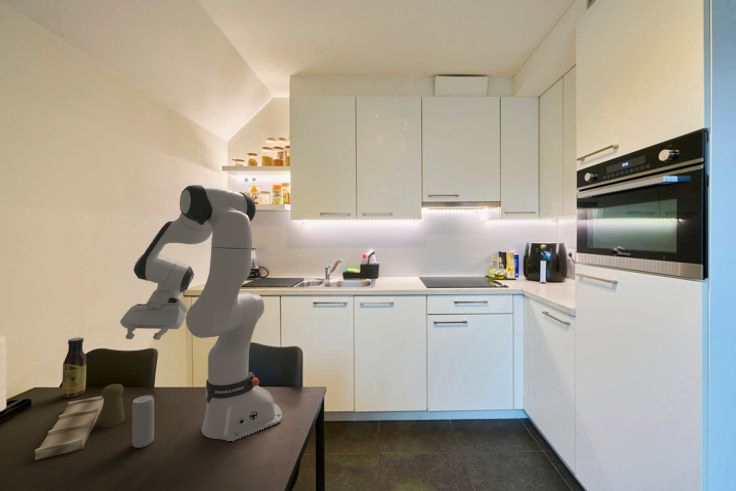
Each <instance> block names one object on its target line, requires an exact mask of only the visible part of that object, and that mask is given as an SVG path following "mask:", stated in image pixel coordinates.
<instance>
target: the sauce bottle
mask: <svg viewBox="0 0 736 491" xmlns="http://www.w3.org/2000/svg"><path fill="white" fill-rule="evenodd" d="M83 343H84V337H72V338H69V339H68V341H67V344H68V350H67V354H66V356H65V358H64V361H63V363H62V377H61V378H62V379H61V380H62V381H61V382H62V383H61V394H62V397H63V398H65V399H66V398H67V399H68V398H75V397H78V396H80V395H83V394H84V393H85V392H86V386H87V384H86V383H87V354H85V352H84V350H83V345H84V344H83Z"/></svg>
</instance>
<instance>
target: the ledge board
mask: <svg viewBox="0 0 736 491" xmlns="http://www.w3.org/2000/svg"><path fill="white" fill-rule="evenodd" d="M103 402H104V398H103V397H102V395H101V396H94V397H90V398H85V399H79V400H74V401H69V402H68V403H67V406H66V408H65V409H64V412H62V414H60V415H58V420H57V421H56V422H55V424H54V426H53V427H52V429H51V430H48V432H47V435H46V438H45V439H44V440H43V442H42V443H41V445H40V446H39V448H36V449H35V450H34V461H37V460H42V459H46V458H49V457H54V456H58V455H62V454H67V453H70V452H75V451H79V450H83V449H84V447H85V445H86V443H87V441H88V438H89V436H90V434H91V432H92V431H93V428H94V426H95V423H96V422H97V419H98V418H99V415H100V413H101V412H102V408H103Z"/></svg>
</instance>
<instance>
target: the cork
mask: <svg viewBox="0 0 736 491" xmlns="http://www.w3.org/2000/svg"><path fill="white" fill-rule="evenodd" d="M101 390H102V391H101V396H102V397H103V398H104V402H103V407H102V409H101V416H100V421H99V428H104V429H105V428H112V427H115V426H118V425H121V424H122V423H123V422H124V421H125V420H126V416H125V408H124V404H123V398H122V395H123V393H124V386H123V385H122V384H121V383H114V384H109V385H106V386H105V387H104V388H103V389H101Z"/></svg>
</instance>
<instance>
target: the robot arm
mask: <svg viewBox="0 0 736 491" xmlns="http://www.w3.org/2000/svg"><path fill="white" fill-rule="evenodd" d="M256 208H257V206H256V202H255V200H254V198H253V197H252V196H251V195H249V194H247V193H245V192H241V191H239V192H238V191H234V190H231V189H225V188H223V187H218V186H207V185H206V186H202V185H201V184H195V185H194V184H193V185H188V186H185V188H184V189H183V190H182V191H181V194H180V197H179V210H180V215H179V216H178V218H177V219H175V220H173V221H167V222H166V223H165V224H164V225H163V226H161V228H160V229H159V230H158V232H157V234H156V235H155V236H154V238H152V241H151V242H150V244H149V246H148V247H147V248H146V250H145V251H144V253H143V254H141V255H140V257H139V258H137V260H136V262H135V263H134V267H133V273H134V274H135V277H137V279H139V280H143V281H147V282H152V283H153V284H154V283H156V284H157V286H156V289H155V290H154V291H153V292H152V293H151V295H150V297H149V298H148V300H147V302H146V303H136V304H135V305H133V306H131V307H130V308H129V309H128V310H127V311H126V312H125V314H124V315H123V316H122V318H121V319H120V322H119V323H120V325H121V326H122V327H123V328H125V329H126V330H127V331H126V334H125V339H127V340H133V339H134V337H135V334H134V333H133V332H134V331H135V330H136V329H145V330H146V329H147V330H151V329H152V330H153V329H154V330H155V329H156V330H159V331H158V332H155V333H154V334H153V336H152V338H153V340H157V341H160V340H161V338H162V336H164V335H165V334H166V333H167V332H168V331H169V330H178V329H179V328H181V327H182V325H183V323H184V320H185V325H186V327H187V329H188V331H189V333H190V334H191V335H192V336H194V337H196V338H198V339H202V338H203V339H205V338H207V339H208V338H215V337H217V339H216V341H215V344H213V346H212V347H211V348H210V350H209V352H208V356H207V379H206V383H205V400H206V409H205V415H204V419H203V423H202V426H201V433H202V435H203V436H204V437H206V438H210V439H214V440H215V439H216V440H224V441H225V440H226V442H228V441H232V442H235V441H237V440H236V439H238V440H240V439H242V438H241V437H243V438H245V437H244V436H246V437H248V436H250V434H251V435H253V434H255V432H256V433H258V432H260V431H259V430H261V431H263V430H265V429H264V428H266V429H268V428H267V427H269V426H271V425H274V424H276V425H278V424H277V423H279V422H280V421H281V422H282V420H283V412H282V410H281V407H280V406H279V405H278V404H277V403H275V402H274V398H273V396H272V394H271V392H269V391H268V390H267V389H266V388H263V387H262V386H259V384H260V380H259V378H258V377H256V376H255V374H254V373H253V372H251V371H250V372H249V361H250V359H249V357H250V354H249V353H250V346H251V342H252V338H253V335H254V332H255V328H256V326H257V323H258V321H259V320H260V318H261V317H262V316H263V314H264V311H265V302H264V299H263V298H262V297H261V295H260V294H258V293H257V292H255V291H248V290H241V288H242V287H243V284H244V283H245V281H246V280H247V279H248V278H249V276H250V275H251V270H252V269H251V268H252V246H253V239H252V238H253V235H252V224H251V222H252V221H253V219H254V217H255V215H256V210H257V209H256ZM210 237H211V244H210V246H211V247H210V260H209V261H210V262H209V271H208V277H207V279H206V282H205V285H204V288H203V289H202V291H201V293H200V295H199V297H198V298H197V299H196V300H195V302H194V303H192V304H191V305H190V306H189V308H187V306H186V305H185V303H184V302H183V301H182V300H181V299H180V296H181V295H182V294H183V292H185V291H186V292H187V290H188V289H189V286H190V284H191V283H192V280H193V279H194V277H195V273H194V271H193V268H192V267H191V266H190V265H188V264H185V263H182V262H180V261H176V260H174V259H171V258H168V257H167V256H166V257H165V256H163V255H162V254H160V253H161V251H162V250H163V249H164V247H165V245H167V244H182V245H197V244H202V243H204V242H206V241H207V240H208V239H209V238H210ZM281 419H282V420H281ZM281 422H280V423H281ZM280 423H279V424H280ZM274 426H275V425H274ZM271 427H272V426H271ZM269 428H270V427H269ZM262 429H263V430H262ZM257 431H258V432H257ZM252 433H253V434H252ZM247 435H248V436H247ZM239 438H240V439H239ZM234 440H235V441H234Z"/></svg>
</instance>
